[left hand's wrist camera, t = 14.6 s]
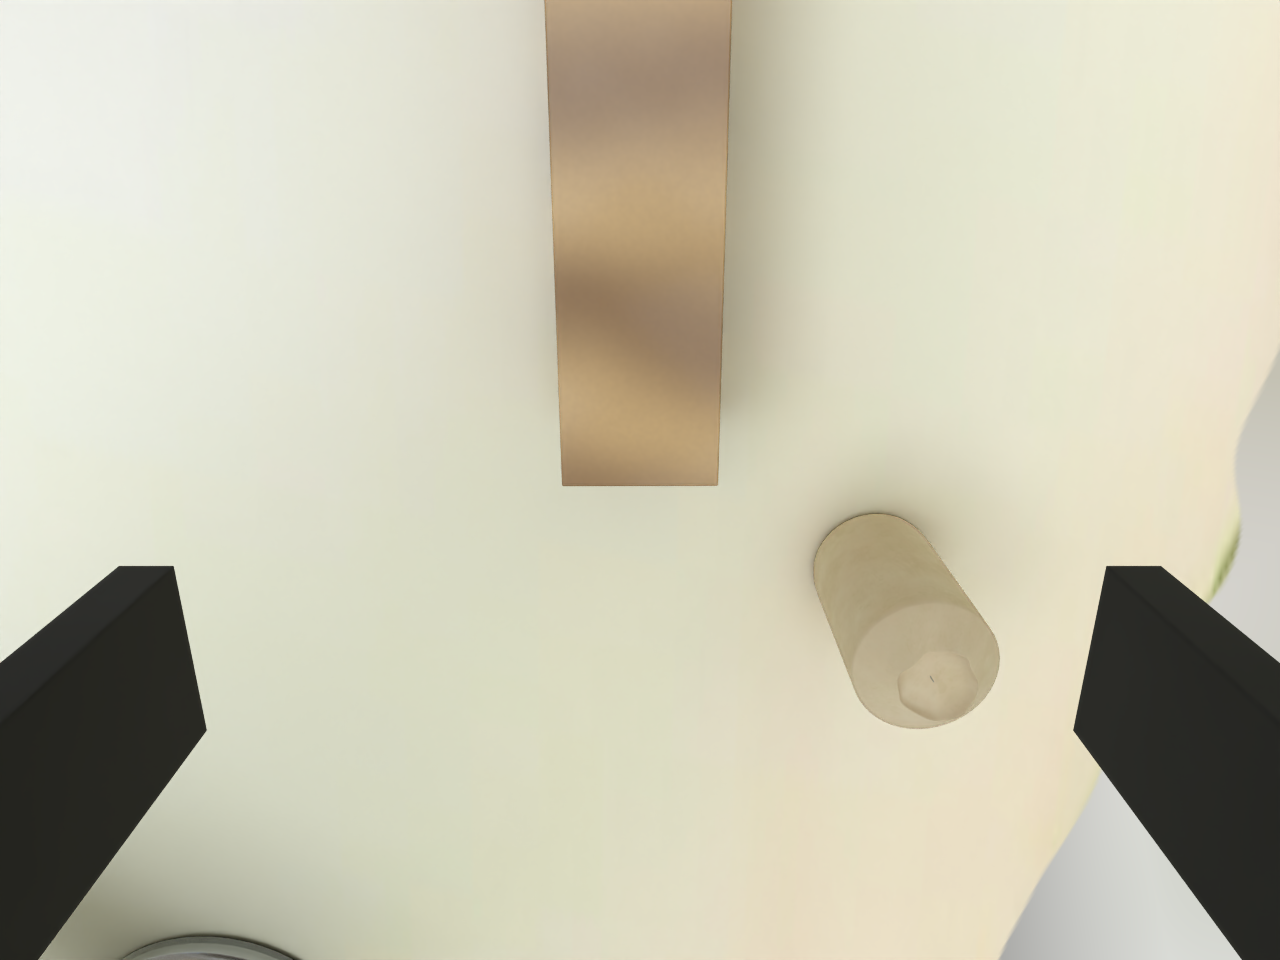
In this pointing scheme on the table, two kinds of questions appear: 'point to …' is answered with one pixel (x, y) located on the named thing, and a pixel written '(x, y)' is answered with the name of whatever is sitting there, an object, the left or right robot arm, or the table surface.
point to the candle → (903, 624)
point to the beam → (639, 235)
